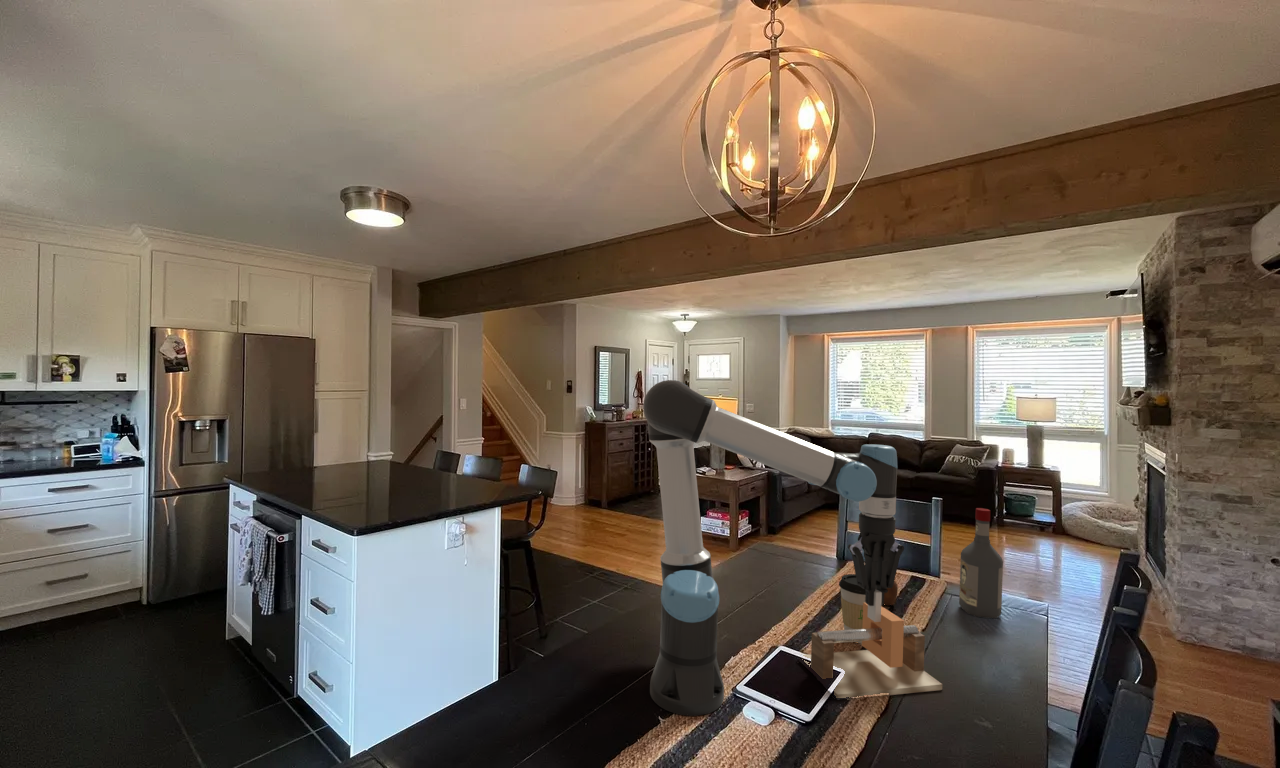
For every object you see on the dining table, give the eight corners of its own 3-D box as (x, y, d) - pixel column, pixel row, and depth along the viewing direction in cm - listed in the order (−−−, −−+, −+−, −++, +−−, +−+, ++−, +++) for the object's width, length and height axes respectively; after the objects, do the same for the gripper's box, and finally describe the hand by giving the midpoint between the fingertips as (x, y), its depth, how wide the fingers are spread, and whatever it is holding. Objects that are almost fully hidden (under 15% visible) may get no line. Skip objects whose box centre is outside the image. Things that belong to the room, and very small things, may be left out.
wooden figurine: (898, 603, 161) (899, 553, 161) (895, 609, 156) (897, 558, 156) (873, 598, 165) (875, 549, 165) (870, 604, 160) (872, 553, 160)
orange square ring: (890, 667, 115) (891, 621, 115) (861, 645, 125) (863, 602, 125) (902, 666, 116) (903, 620, 116) (873, 644, 126) (874, 601, 126)
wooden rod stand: (837, 700, 109) (838, 656, 109) (798, 660, 125) (799, 622, 125) (942, 689, 115) (943, 647, 115) (892, 652, 130) (893, 615, 130)
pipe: (823, 648, 116) (824, 634, 116) (815, 641, 119) (816, 627, 119) (919, 641, 121) (920, 627, 121) (909, 634, 124) (910, 620, 124)
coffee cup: (882, 650, 132) (884, 589, 132) (840, 644, 133) (842, 584, 134) (873, 632, 141) (875, 575, 141) (834, 627, 143) (836, 571, 143)
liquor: (989, 607, 161) (992, 507, 161) (1004, 620, 152) (1008, 514, 152) (956, 603, 162) (959, 505, 162) (969, 616, 153) (972, 511, 153)
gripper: (861, 518, 115) (858, 628, 115) (914, 517, 118) (911, 624, 118) (841, 510, 122) (838, 613, 122) (891, 509, 125) (888, 610, 125)
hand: (874, 619), depth 120 cm, fingers closed
